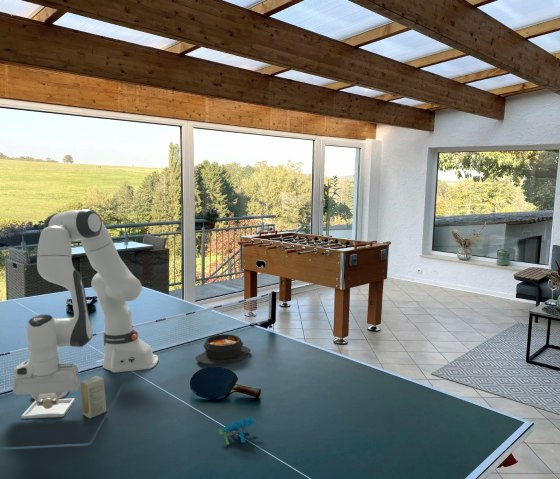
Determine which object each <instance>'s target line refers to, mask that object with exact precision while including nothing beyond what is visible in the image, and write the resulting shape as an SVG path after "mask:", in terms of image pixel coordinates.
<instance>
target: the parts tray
mask: <svg viewBox="0 0 560 479" xmlns="http://www.w3.org/2000/svg"><path fill="white" fill-rule="evenodd" d="M53 400H54V399H53ZM75 402H76V398H75V397H73V398H59V404H58V405H53V407H52V408H50V409H45V408H44V407H43V406H37V401H36V400H35V399H34V401H33V402H32V404H31V405H30V406H29V407H28V408H27V409H26V410H25V411H24V413H22V414H21V417H20V418H21V419H40V418H42V419H43V418H46V419H47V418H62V417H65V415H66V414H67V412H68V411H69V410H70V408H72V406H73V405H74V403H75Z"/></svg>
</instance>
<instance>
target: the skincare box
mask: <svg viewBox="0 0 560 479" xmlns="http://www.w3.org/2000/svg"><path fill="white" fill-rule="evenodd" d="M80 391H81V404H82V414H83V416H84V417H87V418H89V419H91V418H94V417H96V416H99V415H101V414H103V413H105V412H107V403H106V402H107V401H106V390H105V379H104V377H102V376H99V375H94V376H92V377H89V378H86V379H84V380H81V381H80Z"/></svg>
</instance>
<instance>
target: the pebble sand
mask: <svg viewBox="0 0 560 479" xmlns="http://www.w3.org/2000/svg"><path fill="white" fill-rule="evenodd" d="M42 405H43V407H44V408H45V409H50V408H52V407H53V399H52V398H50V397H48V398H46V399H44V400H43V403H42Z"/></svg>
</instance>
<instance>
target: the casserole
mask: <svg viewBox="0 0 560 479" xmlns="http://www.w3.org/2000/svg"><path fill="white" fill-rule="evenodd" d="M202 347H203V348H204V349H205V350H204V351H203V352H202V353H200V354H198V355H196V356H195V360H196V361H197V362H198V363H201V364H204V365H208V366H209V365H217V364H225V363H232V362H236V361H239V360H240V359H242V358H244V357H245V356H246V355H247V354H249V353H251V351H252V350H251V349H250V348H249V347H247V346H244V342H243V341H242V339H241V337H240V336H237V335H234V334H225V333H224V334H223V333H222V334H217V335H212V336H210V337H208V338H206V339H205V341H204V343H203V346H202Z"/></svg>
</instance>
